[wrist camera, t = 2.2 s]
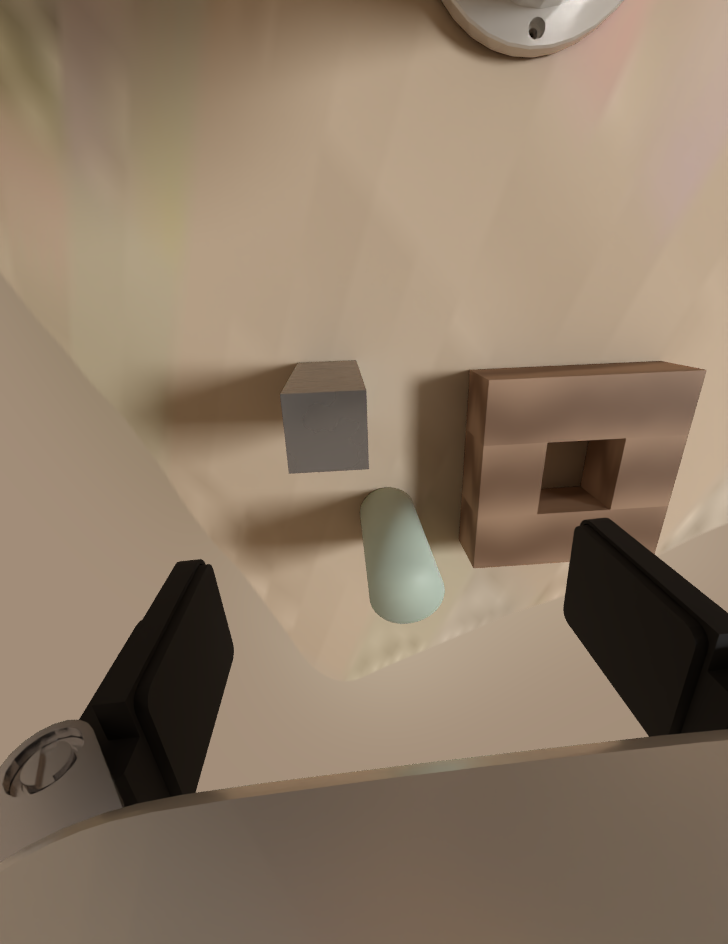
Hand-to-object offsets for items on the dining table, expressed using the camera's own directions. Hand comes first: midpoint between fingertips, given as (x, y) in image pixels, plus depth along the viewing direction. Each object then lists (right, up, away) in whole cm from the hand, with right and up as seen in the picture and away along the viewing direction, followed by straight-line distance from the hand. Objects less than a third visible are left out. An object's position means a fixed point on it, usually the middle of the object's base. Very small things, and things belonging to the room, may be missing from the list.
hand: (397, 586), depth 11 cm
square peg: (-3, +9, +19) cm, 21 cm away
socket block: (+14, +4, +22) cm, 26 cm away
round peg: (+1, 0, +23) cm, 23 cm away
